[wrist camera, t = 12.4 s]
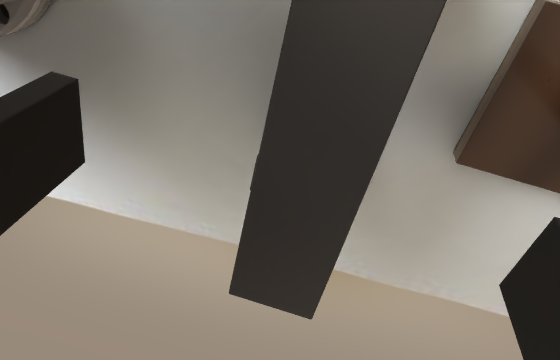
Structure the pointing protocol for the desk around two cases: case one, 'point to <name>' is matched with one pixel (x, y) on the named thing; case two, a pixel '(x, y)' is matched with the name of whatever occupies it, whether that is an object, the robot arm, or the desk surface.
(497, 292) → the desk surface
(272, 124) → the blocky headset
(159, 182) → the desk surface
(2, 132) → the robot arm
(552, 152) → the stand
